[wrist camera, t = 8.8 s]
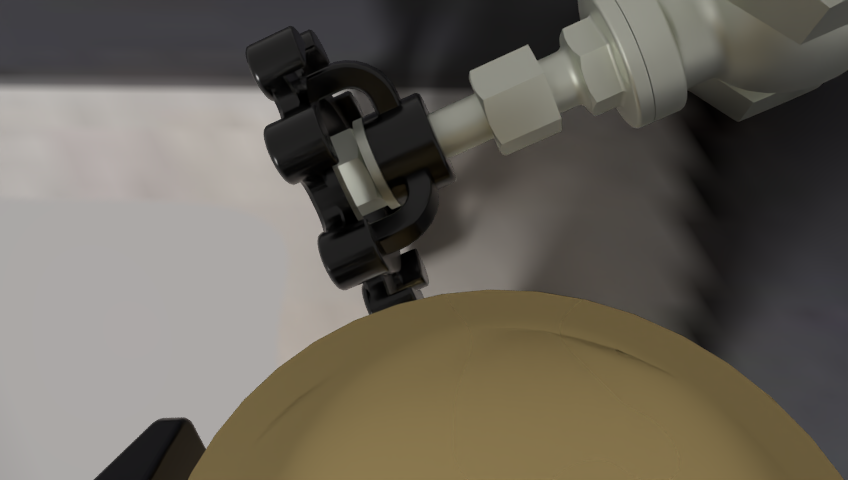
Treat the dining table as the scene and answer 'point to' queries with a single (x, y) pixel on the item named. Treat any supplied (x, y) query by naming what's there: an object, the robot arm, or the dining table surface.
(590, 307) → the gold tall rounded piece
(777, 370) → the dining table surface
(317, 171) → the valve
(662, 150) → the dining table surface
